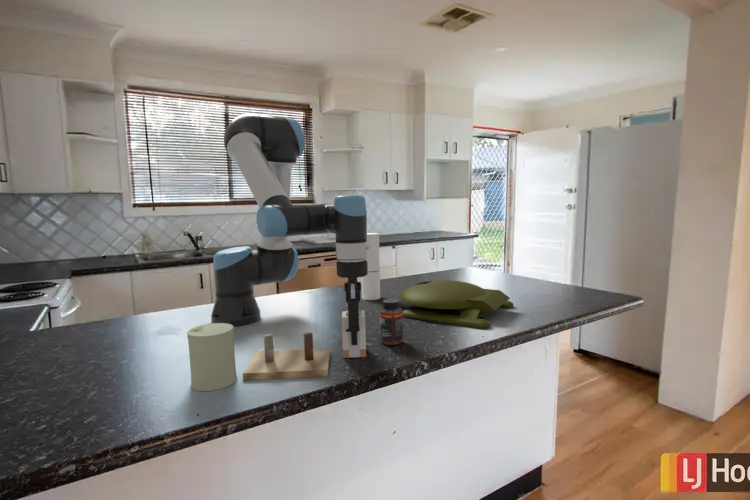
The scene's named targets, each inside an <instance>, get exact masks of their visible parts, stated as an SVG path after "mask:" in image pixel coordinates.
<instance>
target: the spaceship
mask: <svg viewBox="0 0 750 500" xmlns="http://www.w3.org/2000/svg"><path fill="white" fill-rule="evenodd" d="M399 299H400V300H401V301H402V302H403V303H405V304H407V305H410V306H415V307H420V308H424V309H425V308H426V309H434V310H435V309H437V310H438V309H439V310H457V311H458V312H459V313H460V315H454V314H447V313H446V314H445V313H440V312H433V311H427V310H425V311H424V310H418V309H411V308H408V309H405V310H402V317H404V318H407V319H414V320H421V321H428V322H435V323H441V324H448V325H454V326H459V325H460V327H466V326H467V327H466V328H473V329H478V330H479V329H483V330H485V329H489V328H490V327H491V325H492V324H491V322H490V320H487V319H484V318H479V317H485V316H486V317H487V315H489V314H491V313H493V312H495V311H496V310H498V309H511V308H513V307H514V303H513V302H512V301H510V299H511V297H509V296H508V295H507V294H505V293H504V292H503V291H501V290H500V289H491V288H483V287H481V286H478V285H477V284H473V283H470V282H465V281H462V280H461V281H459V280H450V279H448V280H447V279H445V280H444V279H437V280H427V281H423V282H418V283H415V284H413V285H410V286H408V287H405V288H404V289H403V291H402V292H401V293H400V294H399ZM499 307H500V308H499Z"/></svg>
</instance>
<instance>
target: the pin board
mask: <svg viewBox="0 0 750 500" xmlns="http://www.w3.org/2000/svg"><path fill="white" fill-rule="evenodd" d="M313 337H314V335H313V332H305V333H303V347H304V348H303V349H285V350H275V349H274V335H273V334H271V333H268V334H265V335H263V340H264V341H263V345H264V350H262V351H260V350H257V351H256V352H255V353H254V355H253V356H252V358H251V360H250V361H249V363H248V364H247V365H246V367H245V369H244V371H243V372H242V380H243V381H252V380H254V381H255V380H273V379H275V380H276V379H277V380H278V379H297V378H317V377H318V378H320V377H322V378H323V377H328V375H329V367H330V359H331V348H314V339H313Z"/></svg>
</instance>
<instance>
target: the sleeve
mask: <svg viewBox="0 0 750 500" xmlns="http://www.w3.org/2000/svg"><path fill="white" fill-rule="evenodd" d="M348 327H349V321H348V310H346V311H345V310H344V311H341V336H342V337H341V339H342V358H343V359H345V358H347V359H348V358H349V339H348V332H346V329H348ZM359 327H360V357H359V358H367V335H366V334H367V332H366V312H365V310H359ZM351 358H352V359H353V357H351Z"/></svg>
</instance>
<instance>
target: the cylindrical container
mask: <svg viewBox="0 0 750 500" xmlns="http://www.w3.org/2000/svg"><path fill="white" fill-rule="evenodd" d="M366 242H367V244H366V245H369V247H370V248H369V249H366V251H367V257H366V258H365V260H367V264H368V274H367V275H366V276H364V277H360V278H361V279H360V280H361V281H360V282H361V299H362V300H364V301H375V300H379V299H381V274H380V273H381V272H380V271H381V267H380V266H381V265H380V260H381V259H380V233H378V232H367V241H366Z"/></svg>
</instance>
